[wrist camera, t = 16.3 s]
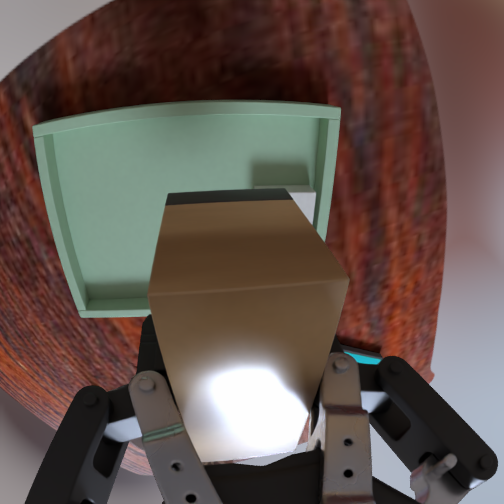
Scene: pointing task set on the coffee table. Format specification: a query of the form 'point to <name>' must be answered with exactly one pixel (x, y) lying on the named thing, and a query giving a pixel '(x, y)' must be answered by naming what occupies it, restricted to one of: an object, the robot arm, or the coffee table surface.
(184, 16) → the coffee table surface
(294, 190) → the chalk lump
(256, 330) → the eraser
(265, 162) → the tray
